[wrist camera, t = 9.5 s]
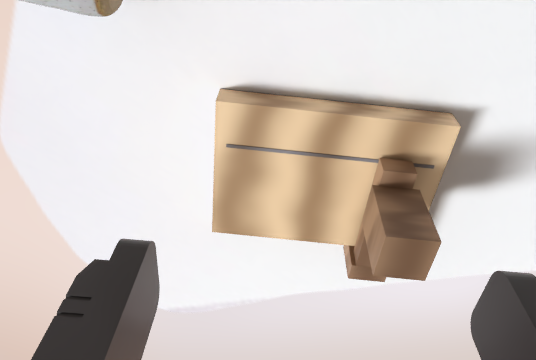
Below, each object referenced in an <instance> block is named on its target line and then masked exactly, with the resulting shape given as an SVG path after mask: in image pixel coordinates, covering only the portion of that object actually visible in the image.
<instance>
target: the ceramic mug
mask: <svg viewBox="0 0 536 360" xmlns="http://www.w3.org/2000/svg"><path fill="white" fill-rule="evenodd" d="M20 1H25V2H29V3H34V4H38V5H42V6H47V7H52V8H58V9H62V10H66V11H69V12H74V13H78V14H83V15H88V16H100V17H101V16H109V15H111V14H113V13H114V12H115V11H116V10H118V8H119V7H120V5H121V3H122V1H123V0H20Z"/></svg>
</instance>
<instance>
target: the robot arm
mask: <svg viewBox="0 0 536 360" xmlns="http://www.w3.org/2000/svg"><path fill="white" fill-rule="evenodd" d="M158 300H159V276H158V266H157V256H156V247H155V243H154V242H153V241H143V240H131V239H121V240H120V241H119V242H118V244H117V245H116V248H115V250H114V252H113V254H112V256H111V258H110V260H109V261H108V260H96V259H95V260H94V261H93V262H91V263H90V264H89V265H88V266H87V267H86V268H85V269H84V270H82V271H81V272H80V273H79V274H78V275H77V276H76V278H75V280H74V281H73V284H72V285H71V287H70V289H69V291H68V293H67V294H66V299H64V300H63V302H62V304H61V306H60V307H59V309H58V311H57V316H55V317H54V319H53V320H52V322H51V324H50V326H49V328H48V330H47V331H46V333H45V335H44V337H43V339H42V340H41V342H40V344H39V346H38V348H37V350H36V352H35V353H34V355H33V357H32V359H31V360H141V358H142V355H143V352H144V348H145V345H146V342H147V339H148V336H149V333H150V329H151V326H152V323H153V320H154V317H155V313H156V310H157V305H158ZM471 333H472V337H473V340H474V342H475V345H476V347H477V350H478V352H479V355H480V357H481V360H536V277H535V276H534V275H533V274H530V273H518V272H506V271H496V272H494V273H493V274H492V276H491V277H490V279H489V281H488V283H487V285H486V287H485V289H484V291H483V293H482V295H481V297H480V299H479V301H478V303H477V305H476V307H475V309H474V310H473V313H472V317H471Z"/></svg>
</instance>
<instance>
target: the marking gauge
mask: <svg viewBox="0 0 536 360" xmlns="http://www.w3.org/2000/svg"><path fill="white" fill-rule="evenodd" d="M417 175H418V174H417V171H416V169H415V167H414V164H413V162H412V161H405V160H396V159H386V158H379V162H378V165H377V169H376V172H375V176H374V179H373V183H372V187H371V190H370V194H369V197H368V201H367V204H366V208H365V211H364V215H363V219H362V222H361V226H360V229H359V233H358V236H357V240H356V244H355V246H349V245H344V254H345V261H346V268H347V275H348V278H350V279H360V280H370V281H380V282H385V279H386V277H392V278H402V279H412V280H422V281H425V279H426V277H427V275H428V272H429V270H430V268H431V265H432V263H433V261H434V258H435V256H436V254H437V251H438V249H439V247H440V244H441V240H440V237H439V235H438V232H437V230H436V228H435V225H434V223H433V221H432V218H431V216H430V213H429V211H428V209H427V206H426V204H425V201H424V199H423V197H422V194H421V192H420V190H417V189H413V186H414V183H415V181H416V178H417Z"/></svg>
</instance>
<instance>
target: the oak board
mask: <svg viewBox="0 0 536 360" xmlns="http://www.w3.org/2000/svg"><path fill="white" fill-rule="evenodd" d="M460 128H461V126H460V125H459V123H458V122H457V120H456V119H455V118H454V116H453V115H452V113H443V112H434V111H424V110H415V109H405V108H396V107H387V106H377V105H368V104H358V103H349V102H339V101H330V100H320V99H311V98H301V97H292V96H282V95H273V94H264V93H254V92H245V91H235V90H226V89H220V91H219V93H218V96H217V99H216V115H215V151H214V186H213V222H212V232H219V233H229V234H239V235H249V236H259V237H269V238H279V239H289V240H299V241H309V242H319V243H329V244H339V245H349V246H355V244H356V240H357V236H358V233H359V229H360V226H361V222H362V219H363V215H364V211H365V208H366V204H367V201H368V197H369V194H370V190H371V187H372V183H373V179H374V176H375V172H376V169H377V165H378V162H379V158H386V159H396V160H405V161H412V162H413V164H414V167H415V169H416V171H417V174H418V175H417V178H416V181H415V183H414V186H413V189H417V190H420V192H421V194H422V197H423V199H424V201H425V204H426V206H427V209H428V211H429V208H430V206H431V203H432V200H433V198H434V195H435V193H436V190H437V188H438V185H439V182H440V180H441V177H442V175H443V172H444V169H445V167H446V164H447V162H448V159H449V156H450V154H451V151H452V149H453V146H454V144H455V141H456V138H457V136H458V133H459V131H460Z"/></svg>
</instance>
